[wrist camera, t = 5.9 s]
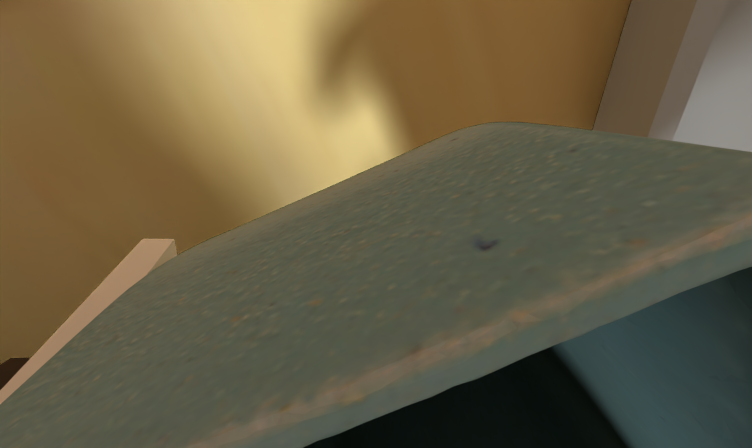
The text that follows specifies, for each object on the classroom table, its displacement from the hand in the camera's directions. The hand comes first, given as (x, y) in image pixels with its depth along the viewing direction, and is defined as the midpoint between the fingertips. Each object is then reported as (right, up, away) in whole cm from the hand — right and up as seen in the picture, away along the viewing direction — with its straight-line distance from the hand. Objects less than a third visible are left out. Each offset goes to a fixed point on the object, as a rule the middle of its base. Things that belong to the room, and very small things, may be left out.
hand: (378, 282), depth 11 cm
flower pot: (0, +1, +1) cm, 2 cm away
